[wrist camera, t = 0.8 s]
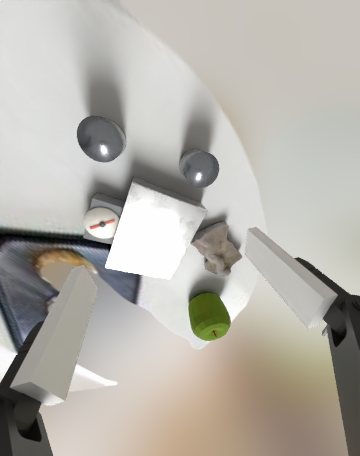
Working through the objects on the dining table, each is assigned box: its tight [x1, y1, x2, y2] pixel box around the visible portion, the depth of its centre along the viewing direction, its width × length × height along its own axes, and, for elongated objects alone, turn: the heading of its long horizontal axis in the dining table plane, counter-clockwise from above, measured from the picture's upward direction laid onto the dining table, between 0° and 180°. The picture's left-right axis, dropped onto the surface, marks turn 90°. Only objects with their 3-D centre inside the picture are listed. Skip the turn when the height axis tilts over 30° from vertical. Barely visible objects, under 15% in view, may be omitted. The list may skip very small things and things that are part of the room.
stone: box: [190, 222, 242, 276], centre depth 39 cm, size 15×10×4 cm, turn 29°
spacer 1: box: [77, 116, 126, 162], centre depth 22 cm, size 5×5×6 cm
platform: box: [105, 181, 207, 279], centre depth 31 cm, size 14×18×1 cm
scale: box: [83, 177, 205, 257], centre depth 32 cm, size 20×18×4 cm
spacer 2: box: [179, 149, 219, 188], centre depth 27 cm, size 5×5×6 cm
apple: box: [189, 293, 231, 341], centre depth 45 cm, size 11×11×11 cm
